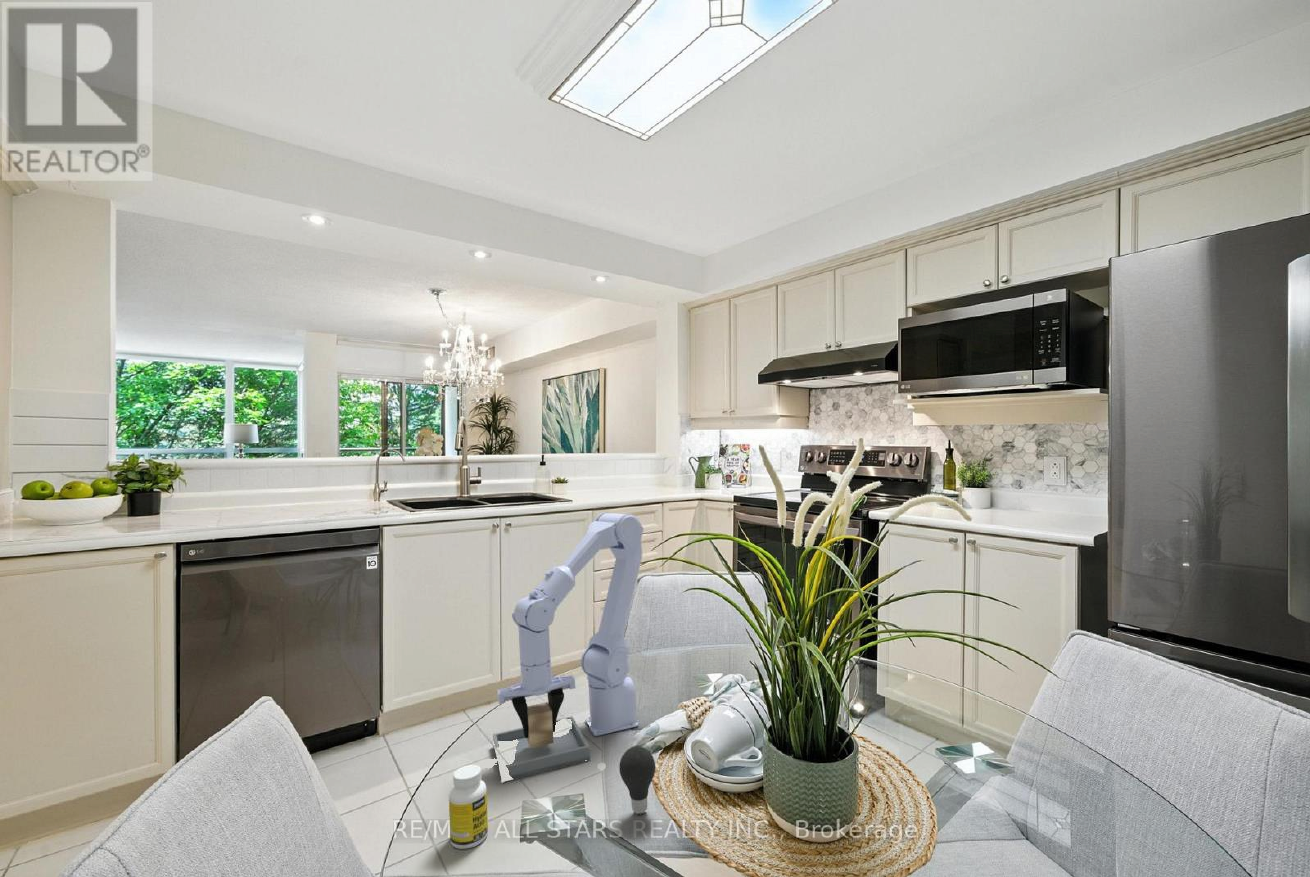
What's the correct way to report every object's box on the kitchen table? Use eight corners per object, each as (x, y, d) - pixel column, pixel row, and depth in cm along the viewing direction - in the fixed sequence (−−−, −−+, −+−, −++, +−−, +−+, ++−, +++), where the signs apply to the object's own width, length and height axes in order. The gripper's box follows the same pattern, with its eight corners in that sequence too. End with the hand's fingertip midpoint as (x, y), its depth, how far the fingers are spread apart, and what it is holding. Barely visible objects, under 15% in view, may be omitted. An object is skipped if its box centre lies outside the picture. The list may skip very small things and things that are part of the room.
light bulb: (654, 799, 92) (651, 737, 92) (660, 821, 87) (656, 754, 87) (620, 805, 91) (616, 742, 91) (624, 827, 86) (620, 760, 86)
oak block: (549, 733, 112) (547, 702, 112) (553, 743, 108) (551, 710, 108) (526, 738, 110) (524, 706, 110) (530, 748, 106) (528, 716, 106)
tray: (572, 728, 118) (572, 716, 119) (590, 760, 105) (589, 746, 106) (493, 746, 113) (492, 734, 113) (501, 783, 100) (500, 768, 100)
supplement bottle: (477, 852, 82) (473, 783, 82) (443, 849, 83) (440, 780, 84) (495, 827, 87) (491, 762, 88) (462, 825, 88) (459, 761, 89)
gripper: (498, 675, 103) (502, 751, 103) (577, 660, 109) (581, 732, 108) (495, 663, 110) (498, 734, 109) (569, 649, 115) (572, 717, 115)
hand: (539, 732), depth 109 cm, fingers closed on oak block, 4 cm apart
